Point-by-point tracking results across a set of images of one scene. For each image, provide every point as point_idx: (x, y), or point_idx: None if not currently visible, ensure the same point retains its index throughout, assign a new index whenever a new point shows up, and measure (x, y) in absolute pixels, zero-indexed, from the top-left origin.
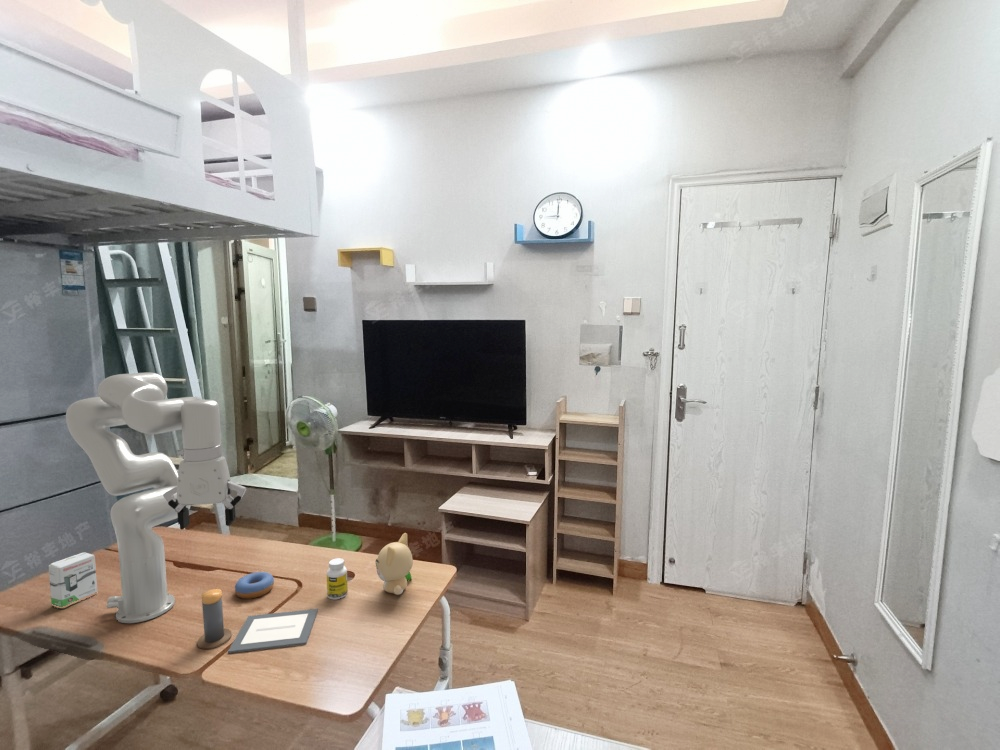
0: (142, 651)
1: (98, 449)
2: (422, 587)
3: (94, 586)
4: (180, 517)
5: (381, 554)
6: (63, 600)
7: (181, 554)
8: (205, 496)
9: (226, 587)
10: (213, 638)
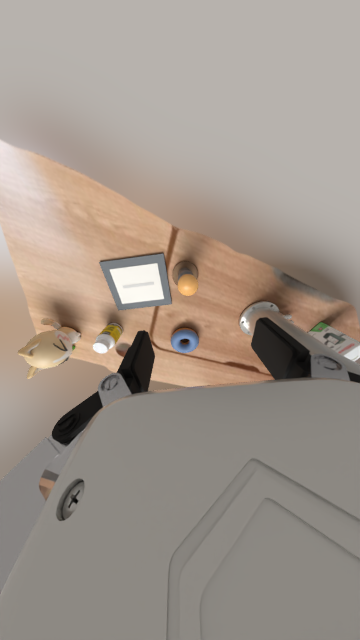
0: (239, 262)
1: None
2: None
3: None
4: (289, 338)
5: (46, 351)
6: (326, 326)
7: (257, 379)
8: (204, 452)
9: (208, 342)
10: (182, 268)
